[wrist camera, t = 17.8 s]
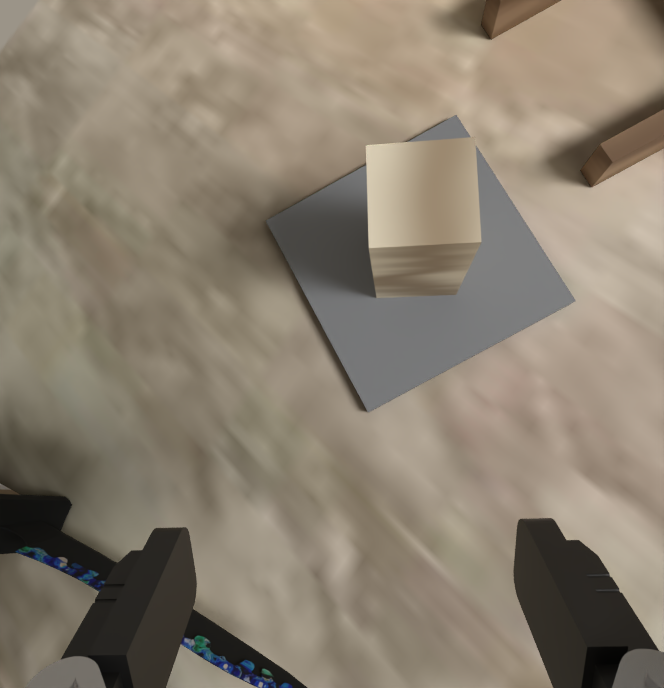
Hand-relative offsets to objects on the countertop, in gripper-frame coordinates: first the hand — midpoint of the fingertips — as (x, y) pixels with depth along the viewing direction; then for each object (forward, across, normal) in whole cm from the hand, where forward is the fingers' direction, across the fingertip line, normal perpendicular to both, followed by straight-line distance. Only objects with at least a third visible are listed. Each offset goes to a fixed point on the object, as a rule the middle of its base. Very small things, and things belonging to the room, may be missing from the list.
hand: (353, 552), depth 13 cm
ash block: (+20, +4, +4) cm, 21 cm away
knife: (+14, -15, -11) cm, 23 cm away
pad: (+21, +4, +3) cm, 21 cm away
